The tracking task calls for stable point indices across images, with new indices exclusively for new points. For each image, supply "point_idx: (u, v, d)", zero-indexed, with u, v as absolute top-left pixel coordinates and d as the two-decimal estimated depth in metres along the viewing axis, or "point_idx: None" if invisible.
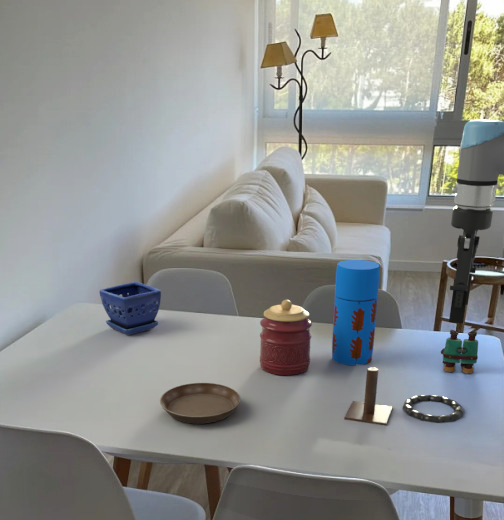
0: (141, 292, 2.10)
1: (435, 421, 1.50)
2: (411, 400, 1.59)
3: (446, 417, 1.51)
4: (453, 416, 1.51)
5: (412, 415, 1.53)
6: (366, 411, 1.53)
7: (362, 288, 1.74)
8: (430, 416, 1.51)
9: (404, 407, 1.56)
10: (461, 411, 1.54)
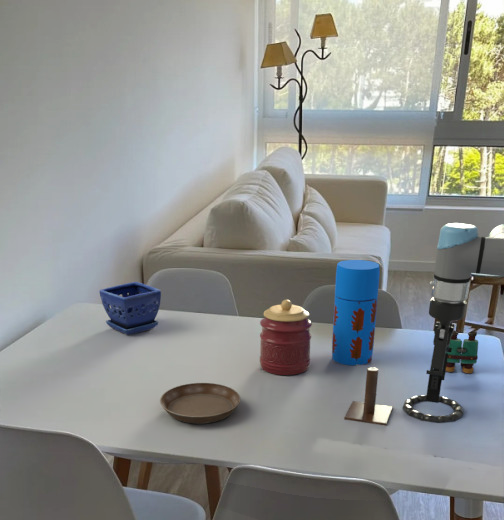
0: (141, 292, 2.10)
1: (435, 421, 1.50)
2: (411, 400, 1.59)
3: (446, 417, 1.51)
4: (453, 416, 1.51)
5: (412, 415, 1.53)
6: (366, 411, 1.53)
7: (362, 288, 1.74)
8: (430, 416, 1.51)
9: (404, 407, 1.56)
10: (461, 411, 1.54)
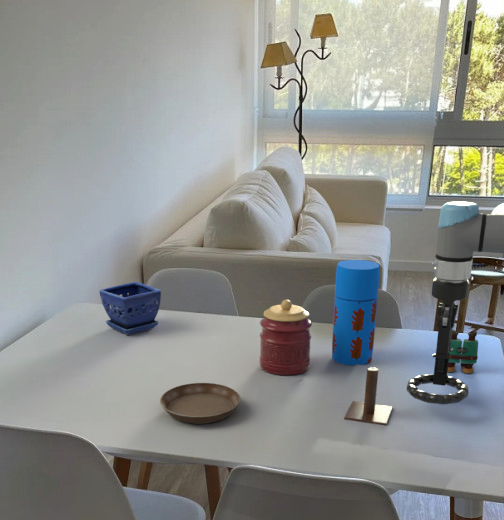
0: (141, 292, 2.10)
1: (441, 400, 1.48)
2: (415, 380, 1.56)
3: (452, 396, 1.48)
4: (459, 394, 1.49)
5: (417, 395, 1.50)
6: (366, 411, 1.53)
7: (362, 288, 1.74)
8: (436, 395, 1.49)
9: (408, 387, 1.53)
10: (466, 389, 1.51)
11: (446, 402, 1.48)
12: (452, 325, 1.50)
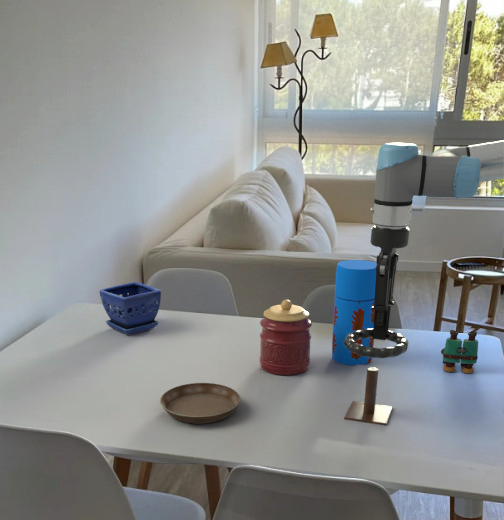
0: (141, 292, 2.10)
1: (378, 353, 1.41)
2: (353, 334, 1.49)
3: (389, 349, 1.42)
4: (397, 348, 1.42)
5: (354, 348, 1.43)
6: (366, 411, 1.53)
7: (362, 288, 1.74)
8: (372, 348, 1.42)
9: (346, 341, 1.46)
10: (405, 343, 1.45)
11: (383, 356, 1.41)
12: (391, 275, 1.44)
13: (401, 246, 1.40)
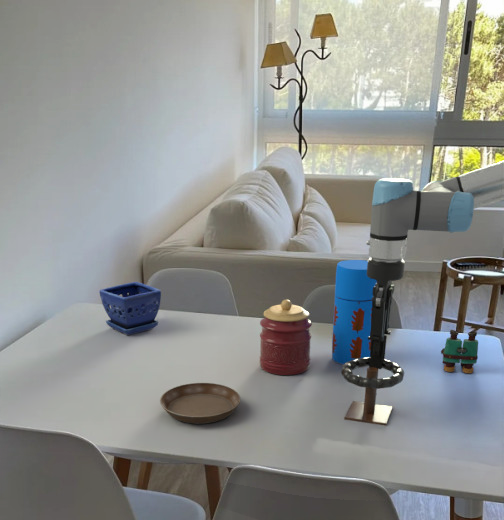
0: (141, 292, 2.10)
1: (374, 384, 1.44)
2: (350, 363, 1.52)
3: (385, 380, 1.44)
4: (393, 378, 1.45)
5: (350, 379, 1.46)
6: (366, 411, 1.53)
7: (362, 288, 1.74)
8: (369, 379, 1.44)
9: (343, 371, 1.49)
10: (401, 373, 1.47)
11: (379, 386, 1.44)
12: (387, 306, 1.46)
13: (396, 279, 1.43)
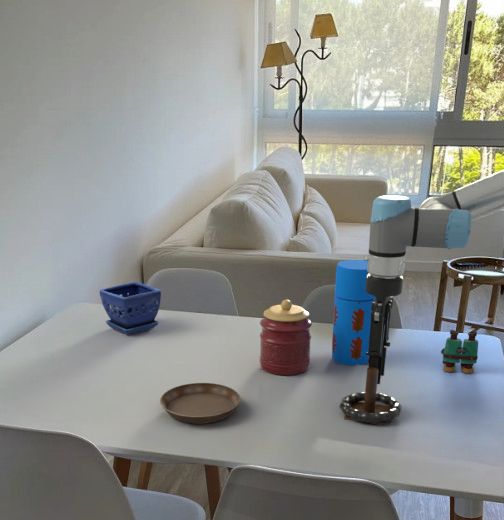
0: (141, 292, 2.10)
1: (372, 418, 1.48)
2: (348, 397, 1.56)
3: (383, 414, 1.48)
4: (390, 413, 1.49)
5: (349, 413, 1.50)
6: (366, 411, 1.53)
7: (362, 288, 1.74)
8: (367, 414, 1.48)
9: (341, 405, 1.53)
10: (398, 408, 1.51)
11: (377, 420, 1.48)
12: (385, 322, 1.47)
13: (395, 294, 1.45)
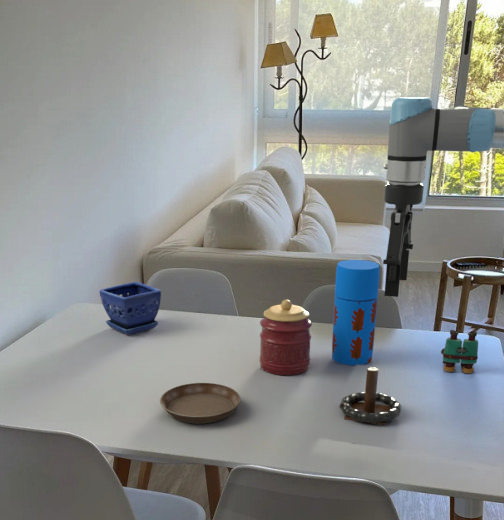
0: (141, 292, 2.10)
1: (372, 418, 1.48)
2: (348, 397, 1.56)
3: (383, 414, 1.48)
4: (390, 413, 1.49)
5: (349, 413, 1.50)
6: (366, 411, 1.53)
7: (362, 288, 1.74)
8: (367, 414, 1.48)
9: (341, 405, 1.53)
10: (398, 408, 1.51)
11: (377, 420, 1.48)
12: (405, 229, 1.40)
13: (416, 202, 1.39)
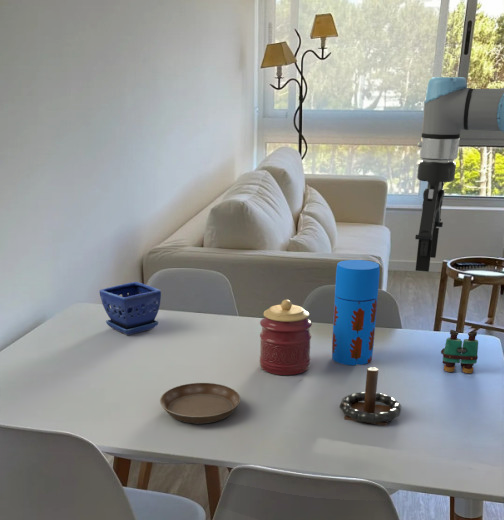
0: (141, 292, 2.10)
1: (372, 418, 1.48)
2: (348, 397, 1.56)
3: (383, 414, 1.48)
4: (390, 413, 1.49)
5: (349, 413, 1.50)
6: (366, 411, 1.53)
7: (362, 288, 1.74)
8: (367, 414, 1.48)
9: (341, 405, 1.53)
10: (398, 408, 1.51)
11: (377, 420, 1.48)
12: (438, 206, 1.44)
13: (448, 180, 1.43)
